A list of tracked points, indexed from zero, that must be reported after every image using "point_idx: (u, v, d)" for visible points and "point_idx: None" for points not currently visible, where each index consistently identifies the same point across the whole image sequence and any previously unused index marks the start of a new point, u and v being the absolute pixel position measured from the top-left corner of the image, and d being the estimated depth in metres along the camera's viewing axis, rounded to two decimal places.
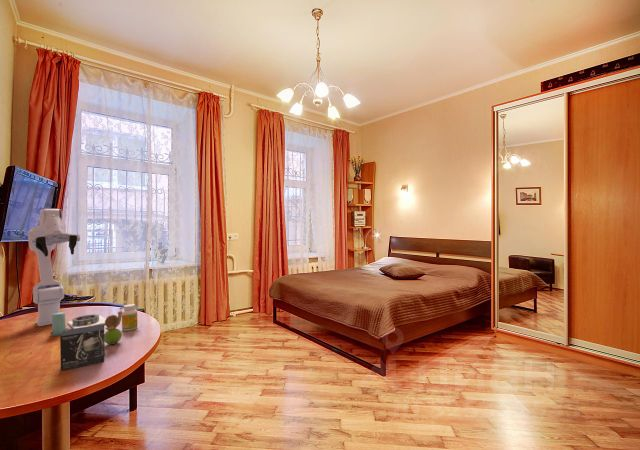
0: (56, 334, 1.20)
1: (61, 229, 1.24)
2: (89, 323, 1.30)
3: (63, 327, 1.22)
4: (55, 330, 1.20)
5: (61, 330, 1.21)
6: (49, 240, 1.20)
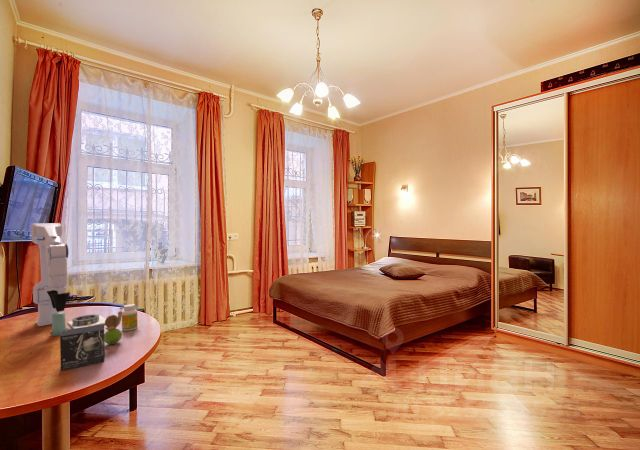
0: (56, 334, 1.20)
1: (51, 282, 1.19)
2: (89, 323, 1.30)
3: (63, 327, 1.22)
4: (55, 330, 1.20)
5: (61, 330, 1.21)
6: None
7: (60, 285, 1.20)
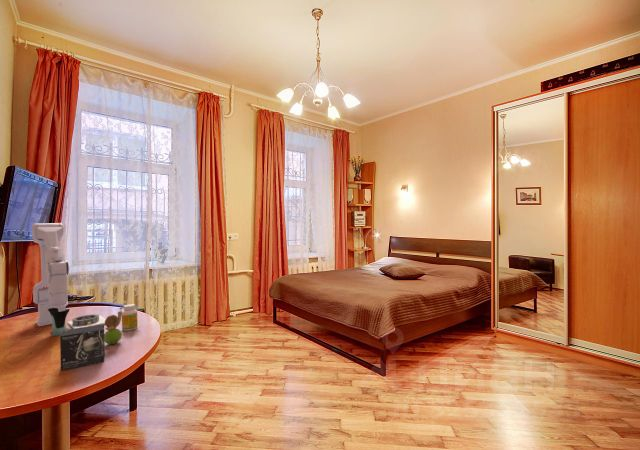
0: (56, 334, 1.20)
1: (51, 299, 1.19)
2: (89, 323, 1.30)
3: (63, 327, 1.22)
4: (55, 330, 1.20)
5: (61, 330, 1.21)
6: None
7: (60, 302, 1.20)
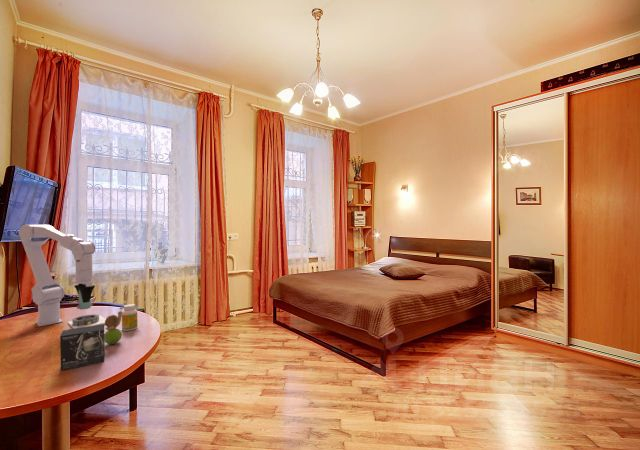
0: (83, 308, 1.32)
1: (78, 276, 1.30)
2: (89, 323, 1.30)
3: (89, 302, 1.33)
4: (81, 305, 1.31)
5: (87, 304, 1.33)
6: (82, 284, 1.35)
7: (87, 279, 1.32)
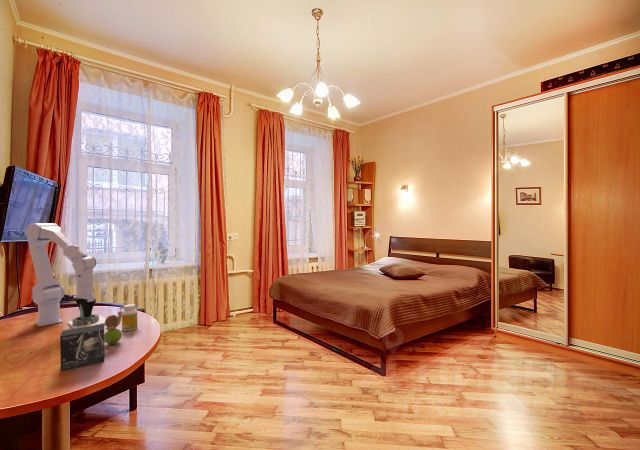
0: None
1: (80, 291, 1.31)
2: (89, 323, 1.30)
3: (90, 316, 1.34)
4: (83, 319, 1.32)
5: (88, 318, 1.33)
6: (83, 298, 1.35)
7: (88, 294, 1.32)
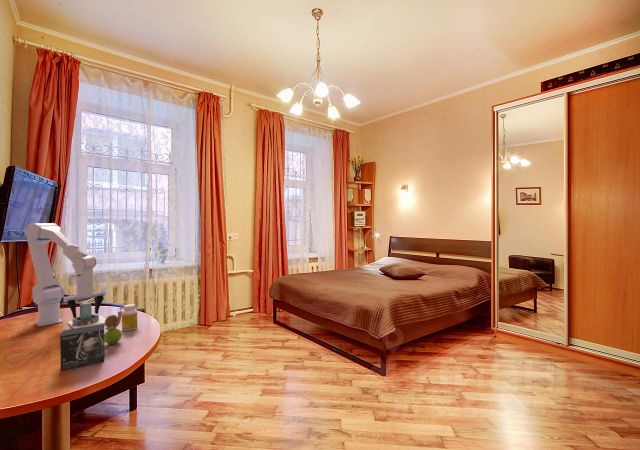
0: None
1: (91, 289, 1.34)
2: (89, 323, 1.30)
3: None
4: (90, 317, 1.34)
5: None
6: (79, 299, 1.32)
7: None
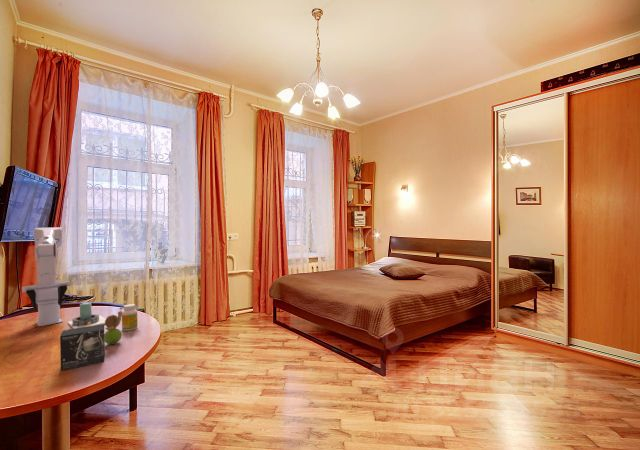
0: None
1: (53, 278, 1.25)
2: (89, 323, 1.30)
3: None
4: (90, 317, 1.34)
5: None
6: (39, 289, 1.24)
7: None
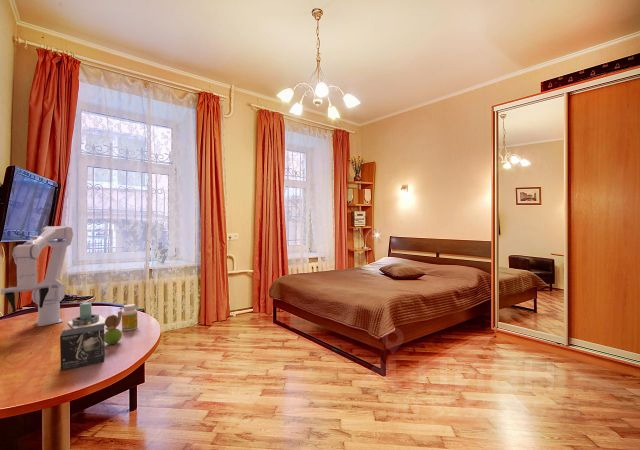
0: None
1: (33, 280, 1.22)
2: (89, 323, 1.30)
3: None
4: (90, 317, 1.34)
5: None
6: None
7: None
